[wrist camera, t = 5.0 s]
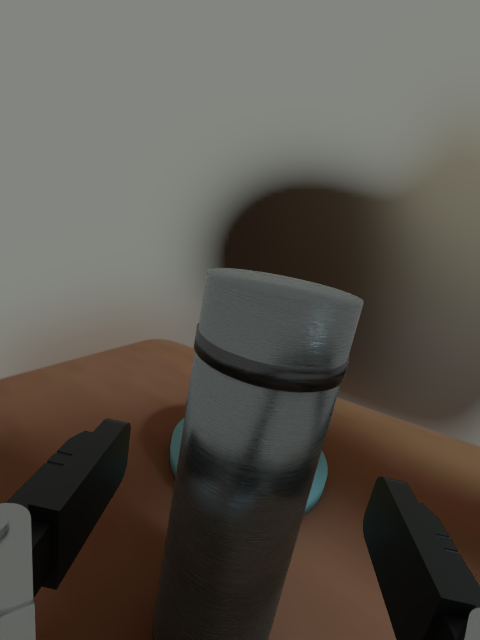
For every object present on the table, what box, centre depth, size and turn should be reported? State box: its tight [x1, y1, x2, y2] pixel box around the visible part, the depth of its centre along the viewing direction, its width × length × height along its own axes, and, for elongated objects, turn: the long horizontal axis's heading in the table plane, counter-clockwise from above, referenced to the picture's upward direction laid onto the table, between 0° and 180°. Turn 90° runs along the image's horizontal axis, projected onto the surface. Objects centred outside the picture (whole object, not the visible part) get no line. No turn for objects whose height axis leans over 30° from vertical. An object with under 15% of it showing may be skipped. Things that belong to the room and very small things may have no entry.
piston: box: [153, 268, 363, 640], centre depth 12 cm, size 5×5×14 cm
